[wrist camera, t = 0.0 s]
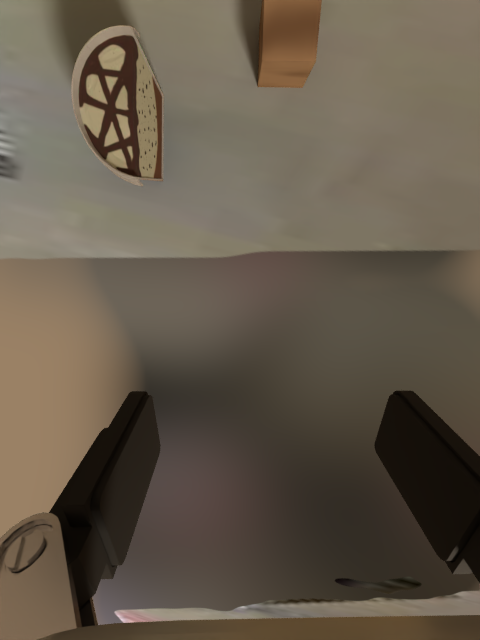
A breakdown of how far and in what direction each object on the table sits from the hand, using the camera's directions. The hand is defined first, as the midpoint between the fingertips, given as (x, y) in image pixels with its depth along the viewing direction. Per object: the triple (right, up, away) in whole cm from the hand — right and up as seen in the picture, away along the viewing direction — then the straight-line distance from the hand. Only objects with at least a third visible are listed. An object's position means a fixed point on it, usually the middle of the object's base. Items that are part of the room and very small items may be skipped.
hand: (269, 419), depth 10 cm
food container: (-14, +28, +22) cm, 38 cm away
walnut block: (+4, +35, +19) cm, 40 cm away
